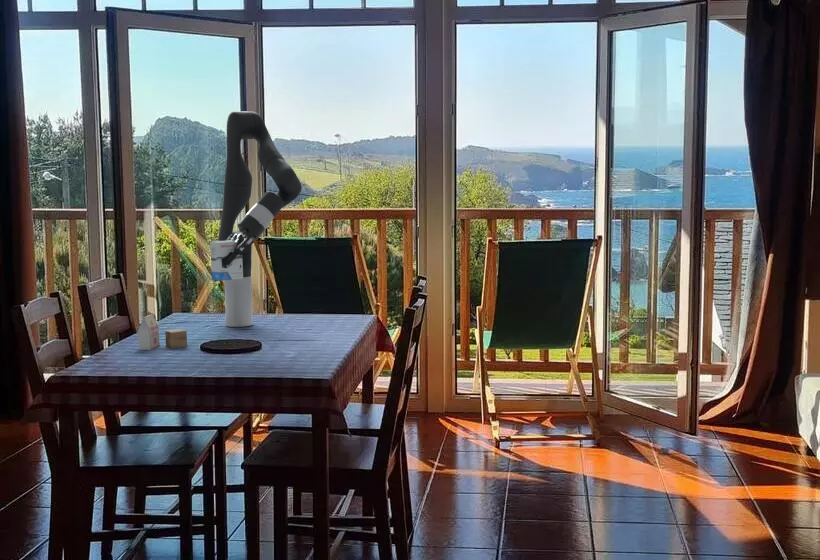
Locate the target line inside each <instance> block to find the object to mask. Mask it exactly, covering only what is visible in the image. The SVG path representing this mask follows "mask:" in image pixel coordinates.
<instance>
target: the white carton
mask: <svg viewBox="0 0 820 560" xmlns="http://www.w3.org/2000/svg"><path fill="white" fill-rule="evenodd" d="M137 336H138V337H137V338H138V350H140V351H142V350H143V351H151V350H153V349H155V348H158V347H160V345H161V344H160V327H159V325H158V323H157V320H156V318H155V316H154V313H152V314H149V315H146V316H143V317H142V320H141V323H140V324H139V328H138V330H137Z"/></svg>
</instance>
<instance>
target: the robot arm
mask: <svg viewBox="0 0 820 560" xmlns="http://www.w3.org/2000/svg"><path fill="white" fill-rule="evenodd" d="M242 140H255V141H256V142H257V143H258V146H259V147H258V150H257V157H258V161H259V163H260V164H261V166H262V167H263V169H264V171H265V172H266V173H267V174H268V175H269V176H270V177H271V178H272V180H273V181H274V183H275V185H276V187H277V189H278V191H277V192H272V191H266V192H264V193H263V195H262V196H261V197H260V198H259V200H258V201H257V202H256V203H255V204H254V205H253V206H252V207H251V208H250V209H249V210H248V211H247V213H246V214H245V215H244V216H243V217H242V218H241V219H240V221H239V222H238V223H237V228H238V230H234V227H235V223H236V220H237V218H238V217H239V215H240V214H241V212H242V211H243V210H244V209H245V207H246V206H247V204H248V203H249V201H250V199H251V196H252V185H253V177H252V174H251V173H252V172H251V171H250V169H249V167H248V165H247V163H246V161H245V159H244V157H243V154H242V149H241V148H242V147H241V143H242ZM225 164H226V165H225V171H224V172H225V173H224V183H223V201H222V213H221V220H220V225H219V232H218V240H217V241H227V240H231V241H232V240H234V241H235V243H234V244H233V246H234V247H233V249H232V250H231V252H230V253H229V254H228V255H227V256H226V258H225V259H224V260H223V262H224V263H225V264H226V265H230V264H231V262H232V261H233V260H234V259H235V258H236V257H238V256H239V255H240V256H241V255H242V263H243V279H233V280H224V281H223V282H224V285H223V286H224V301H225V302H224V303H225V305H224V307H225V309H224V310H225V326H226V327H230V328H231V327H232V328H238V327H239V328H240V327H241V328H243V327H250V326H253V299H252V297H253V296H252V276H251V275H252V252H253V251H252V250H253V249H252V248H253V247H252V245H253V244H254V242H255V241H258V239H259V238H260V237H261V235H262V234H263V233H264V232H265V231H266V229H267V228H268V227H269V226H270V224H271V223H272V221H273V220H274V218H275V217H276V216H277V215H278V213H280V211H281V210H283V208H285V207H286V206H288V205H289V204H290V203H291V202H293V201H294V200H295V199H297V198H298V197H299V195H300V193H301V192H302V182H301V181H300V179H299V177H298V176H297V173H296V172H295V170H294V169H293V168H292V166H291V165H290V164H288V162H286V160H285V158H284V157H283V155H282V154H281V152H280V151H279V150H278V149H277V147H276V146H275V143H274V141H273V139H272V137H271V135H270V132H269V130H268V128H267V126H266V124H265V121H264V120H263V118H262V117H261V115H260V114H259V113H258V112H257V111H254V110H253V111H251V110H250V111H249V110H248V111H247V110H246V111H245V110H243V111H241V110H240V111H237V110H235V111H231V112H230V113H229V115H228V117H227V120H226V161H225ZM241 247H242V248H241Z"/></svg>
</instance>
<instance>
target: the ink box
mask: <svg viewBox="0 0 820 560" xmlns="http://www.w3.org/2000/svg"><path fill="white" fill-rule="evenodd" d="M209 243H210V245H209V246H210V264H211V265H210V266H211V267H210V268H211V280H212V281H219V282H220V281H223V282H224V280H233V279H243V263H242V255H241V256H240V255H239V256H238V257H236V258H235V259H234V260H233V261H232V262H231V264H230V265H226V264H225V263H224V262H223V260H224V259H225V258H226V256H227V255H228V254H229V253H230V252H231V250H232V249H233V247H234V246H233V244H234V243H235V241H234V240H232V241H231V240H227V241H218V240H213V241H211V242H209ZM241 248H242V247H241Z"/></svg>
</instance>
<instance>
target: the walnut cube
mask: <svg viewBox="0 0 820 560" xmlns="http://www.w3.org/2000/svg"><path fill="white" fill-rule="evenodd" d="M164 332H165V333H164V335H165V347H167V348H170V349H177V348H186V347H188V336H187V335H188V334H187V330H185V329H182V328H177V329H167V330H165V331H164Z"/></svg>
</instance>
